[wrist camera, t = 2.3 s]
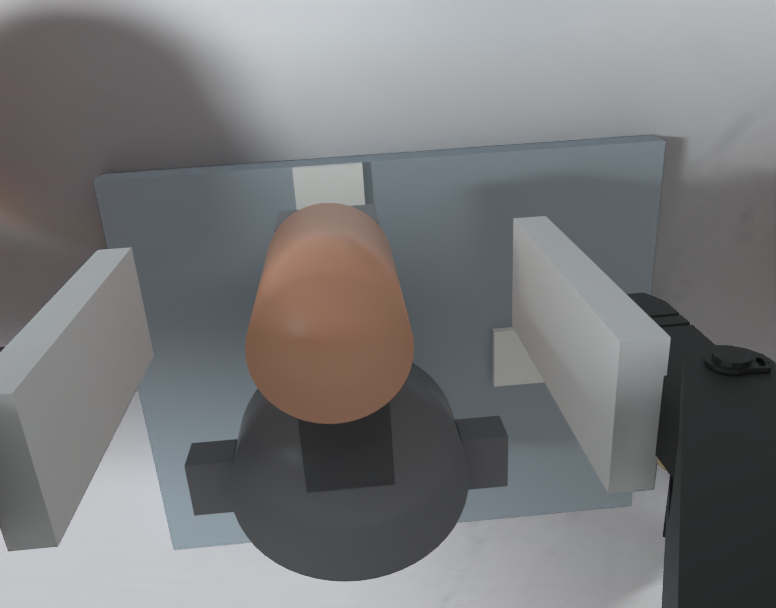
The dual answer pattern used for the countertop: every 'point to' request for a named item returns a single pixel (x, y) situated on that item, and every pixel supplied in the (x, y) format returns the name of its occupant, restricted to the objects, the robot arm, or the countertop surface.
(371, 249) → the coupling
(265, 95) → the countertop surface
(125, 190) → the lock base
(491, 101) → the countertop surface
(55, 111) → the countertop surface
